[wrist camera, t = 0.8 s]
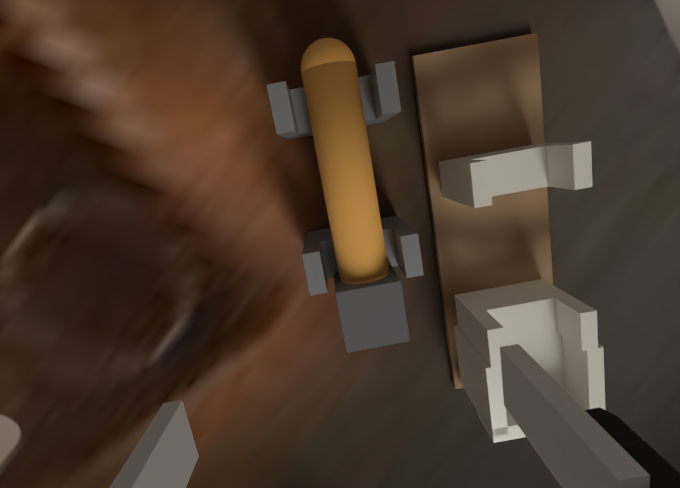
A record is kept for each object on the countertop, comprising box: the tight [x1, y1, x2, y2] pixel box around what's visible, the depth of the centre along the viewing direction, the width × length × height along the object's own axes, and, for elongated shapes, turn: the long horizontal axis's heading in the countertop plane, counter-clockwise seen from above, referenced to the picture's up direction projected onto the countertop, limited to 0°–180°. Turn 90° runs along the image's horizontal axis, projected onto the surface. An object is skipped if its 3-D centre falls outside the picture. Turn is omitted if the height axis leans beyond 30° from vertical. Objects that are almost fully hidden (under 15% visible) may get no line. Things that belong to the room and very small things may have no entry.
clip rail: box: [411, 33, 553, 389], centre depth 35 cm, size 30×10×1 cm, turn 10°
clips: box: [439, 141, 605, 443], centre depth 32 cm, size 22×9×7 cm, turn 10°
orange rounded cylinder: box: [301, 38, 410, 352], centre depth 27 cm, size 20×4×4 cm, turn 10°
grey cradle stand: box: [267, 61, 424, 296], centre depth 30 cm, size 14×8×8 cm, turn 10°
